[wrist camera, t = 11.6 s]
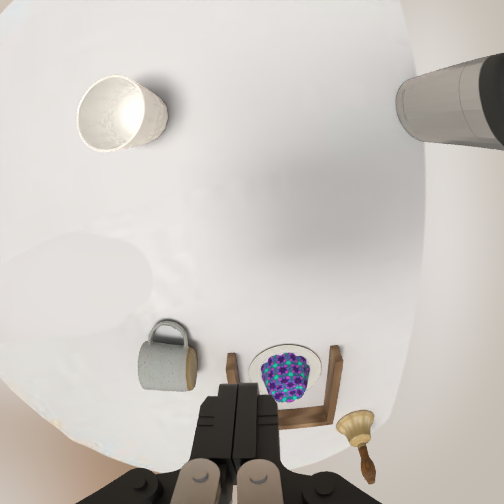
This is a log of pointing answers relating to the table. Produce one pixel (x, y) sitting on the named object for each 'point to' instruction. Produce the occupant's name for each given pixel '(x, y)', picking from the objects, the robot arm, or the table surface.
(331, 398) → the corral
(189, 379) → the ceramic mug
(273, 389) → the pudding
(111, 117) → the white cup
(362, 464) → the hand bell
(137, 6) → the table surface
